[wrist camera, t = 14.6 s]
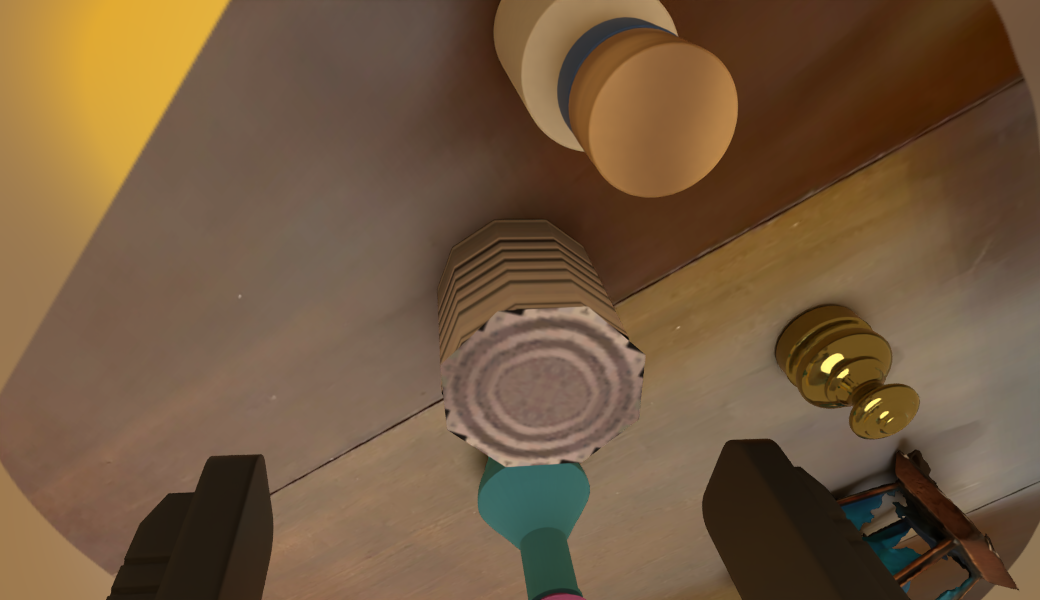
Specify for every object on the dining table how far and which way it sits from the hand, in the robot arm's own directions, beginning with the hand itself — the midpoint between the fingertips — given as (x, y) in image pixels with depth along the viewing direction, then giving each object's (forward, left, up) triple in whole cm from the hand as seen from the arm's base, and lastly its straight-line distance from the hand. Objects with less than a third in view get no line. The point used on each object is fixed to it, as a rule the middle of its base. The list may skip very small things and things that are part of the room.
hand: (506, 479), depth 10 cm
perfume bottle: (+9, -30, -29) cm, 43 cm away
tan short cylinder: (+6, +4, -14) cm, 15 cm away
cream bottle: (+6, +4, -29) cm, 30 cm away
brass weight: (+32, -17, -29) cm, 47 cm away
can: (+6, -13, -29) cm, 33 cm away
